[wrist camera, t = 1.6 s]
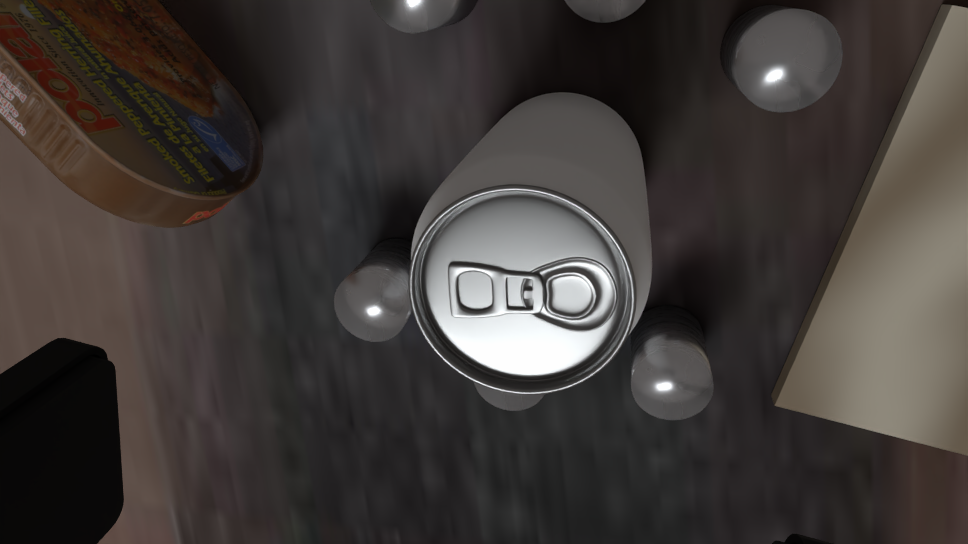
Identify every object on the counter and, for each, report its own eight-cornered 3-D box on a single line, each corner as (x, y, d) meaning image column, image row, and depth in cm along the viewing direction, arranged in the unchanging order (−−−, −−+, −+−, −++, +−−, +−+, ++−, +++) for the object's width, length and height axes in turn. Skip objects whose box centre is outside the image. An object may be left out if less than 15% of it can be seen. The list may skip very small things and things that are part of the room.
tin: (297, 159, 29) (183, 221, 22) (252, 201, 31) (128, 273, 23) (37, -144, 27) (-201, -196, 19) (-2, -85, 28) (-240, -112, 20)
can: (640, 249, 28) (648, 419, 17) (486, 245, 29) (403, 400, 18) (648, 87, 25) (663, 167, 15) (479, 91, 27) (378, 166, 16)
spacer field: (841, -33, 23) (881, -36, 19) (680, 402, 30) (687, 459, 27) (414, -115, 24) (376, -132, 21) (361, 318, 32) (328, 361, 28)
